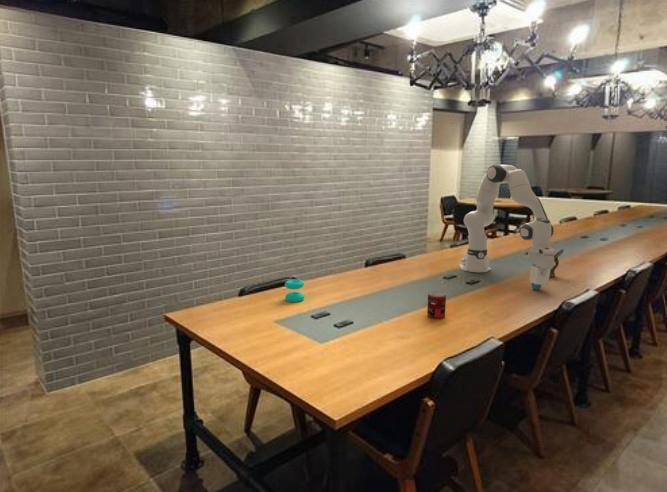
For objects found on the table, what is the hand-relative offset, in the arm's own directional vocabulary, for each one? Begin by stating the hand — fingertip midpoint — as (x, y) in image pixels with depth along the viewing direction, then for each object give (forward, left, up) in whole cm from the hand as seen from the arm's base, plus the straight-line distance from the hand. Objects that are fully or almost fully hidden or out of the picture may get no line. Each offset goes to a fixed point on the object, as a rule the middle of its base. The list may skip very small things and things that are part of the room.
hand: (539, 273), depth 240 cm
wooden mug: (-26, +22, -9) cm, 35 cm away
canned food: (+36, -68, -9) cm, 78 cm away
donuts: (+4, -133, -9) cm, 134 cm away
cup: (0, 0, -5) cm, 5 cm away
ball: (0, -1, -7) cm, 7 cm away
